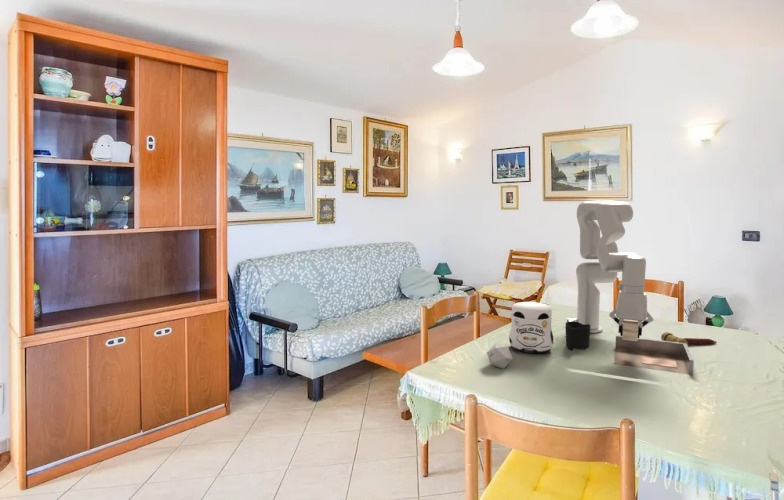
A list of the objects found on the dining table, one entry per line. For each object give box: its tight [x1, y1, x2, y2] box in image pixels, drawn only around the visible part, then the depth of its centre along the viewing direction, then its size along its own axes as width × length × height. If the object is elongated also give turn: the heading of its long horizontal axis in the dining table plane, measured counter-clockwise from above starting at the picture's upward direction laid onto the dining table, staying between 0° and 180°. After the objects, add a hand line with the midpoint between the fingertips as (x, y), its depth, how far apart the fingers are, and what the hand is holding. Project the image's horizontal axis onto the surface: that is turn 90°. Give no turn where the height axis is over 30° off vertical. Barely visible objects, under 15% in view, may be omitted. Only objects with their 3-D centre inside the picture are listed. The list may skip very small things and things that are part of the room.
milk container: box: [508, 301, 554, 354], centre depth 183 cm, size 17×17×18 cm
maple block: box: [622, 319, 639, 341], centre depth 169 cm, size 9×5×6 cm, turn 153°
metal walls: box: [614, 335, 695, 376], centre depth 167 cm, size 24×20×5 cm
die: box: [486, 343, 513, 369], centre depth 166 cm, size 8×9×10 cm
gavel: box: [660, 331, 717, 347], centre depth 186 cm, size 21×5×10 cm
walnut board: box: [614, 348, 693, 376], centre depth 167 cm, size 24×20×1 cm
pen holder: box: [565, 321, 591, 351], centre depth 184 cm, size 9×9×10 cm
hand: (629, 335), depth 169 cm, fingers closed on maple block, 5 cm apart
